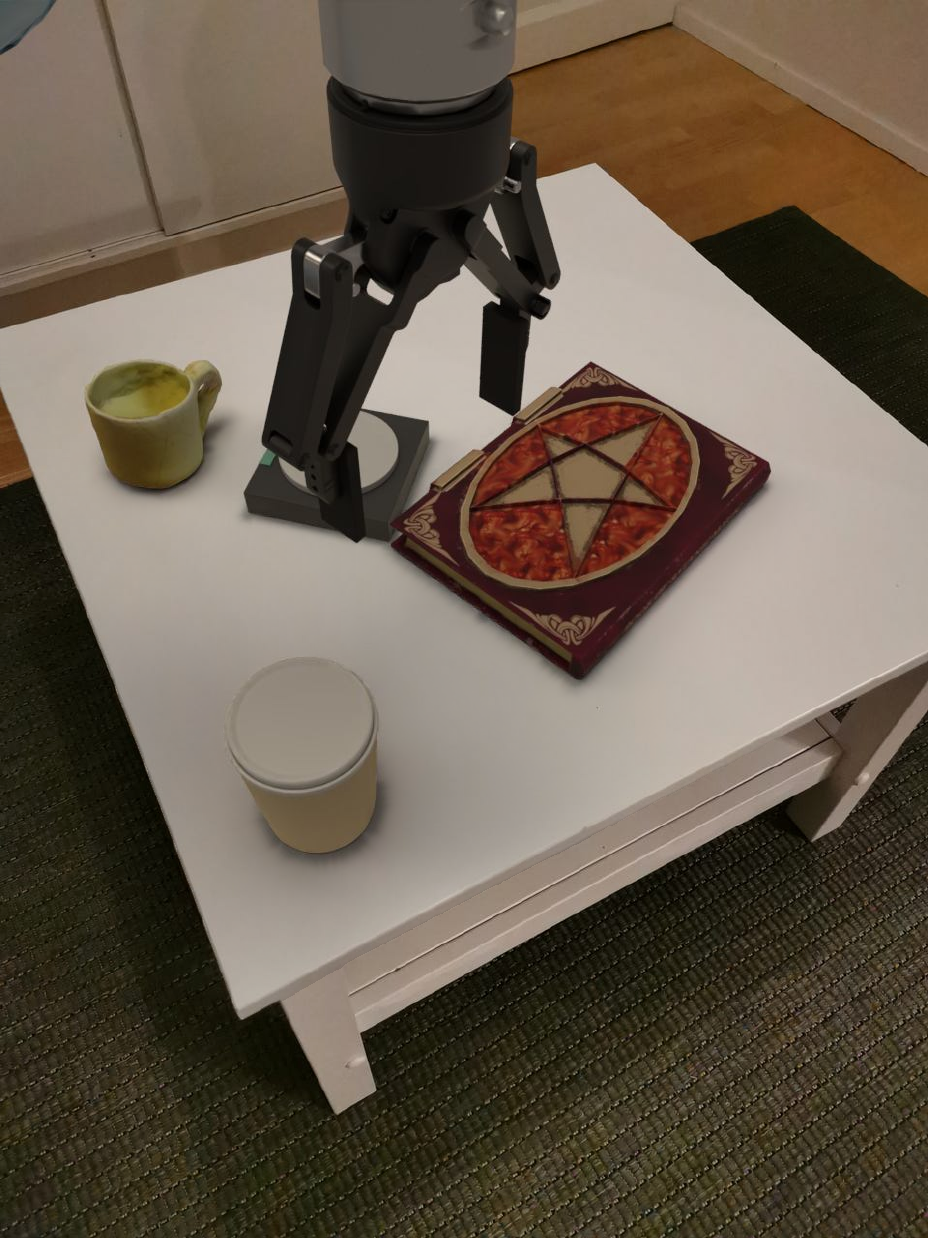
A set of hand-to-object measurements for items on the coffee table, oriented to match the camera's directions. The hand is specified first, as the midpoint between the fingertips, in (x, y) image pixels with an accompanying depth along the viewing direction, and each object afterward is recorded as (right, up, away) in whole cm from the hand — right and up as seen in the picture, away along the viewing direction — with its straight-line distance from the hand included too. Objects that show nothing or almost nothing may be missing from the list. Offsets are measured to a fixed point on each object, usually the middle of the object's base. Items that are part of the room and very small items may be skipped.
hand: (426, 462), depth 53 cm
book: (+13, 0, +28) cm, 31 cm away
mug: (-25, +6, +32) cm, 41 cm away
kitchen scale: (-9, +4, +30) cm, 32 cm away
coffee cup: (-8, -22, +11) cm, 26 cm away
